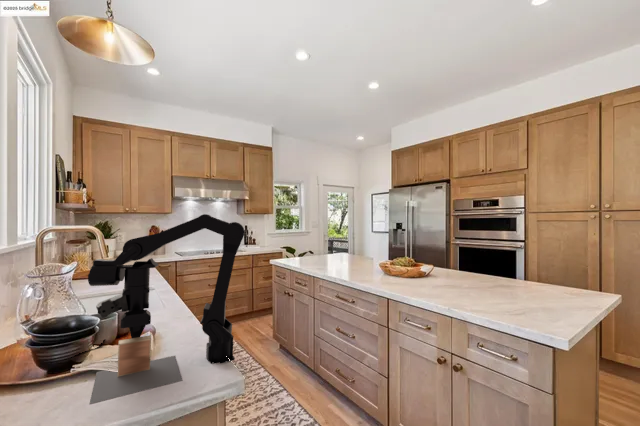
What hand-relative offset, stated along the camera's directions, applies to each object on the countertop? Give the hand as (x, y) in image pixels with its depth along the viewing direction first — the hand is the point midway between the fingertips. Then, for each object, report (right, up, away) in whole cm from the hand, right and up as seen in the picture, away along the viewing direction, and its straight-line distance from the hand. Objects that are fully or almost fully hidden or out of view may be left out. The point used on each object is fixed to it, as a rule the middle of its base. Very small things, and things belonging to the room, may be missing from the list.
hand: (134, 342), depth 78 cm
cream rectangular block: (+2, -6, -3) cm, 7 cm away
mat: (+4, -6, -6) cm, 10 cm away
